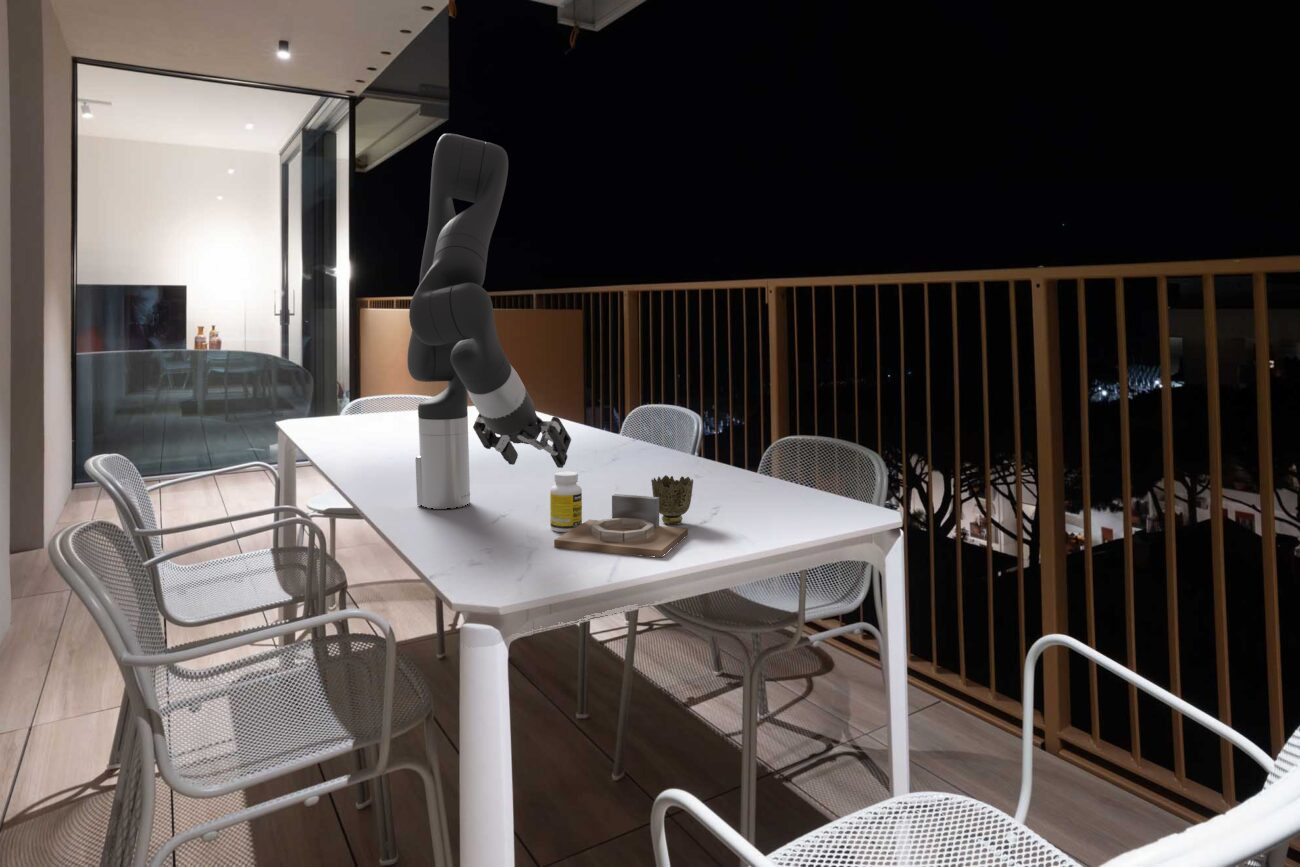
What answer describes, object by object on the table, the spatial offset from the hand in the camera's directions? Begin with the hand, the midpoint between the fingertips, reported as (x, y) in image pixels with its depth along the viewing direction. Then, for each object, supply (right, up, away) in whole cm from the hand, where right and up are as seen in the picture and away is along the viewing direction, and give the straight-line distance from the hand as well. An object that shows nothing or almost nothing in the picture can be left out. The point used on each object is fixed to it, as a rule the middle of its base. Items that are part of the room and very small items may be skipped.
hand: (537, 461), depth 130 cm
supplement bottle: (+3, -12, +11) cm, 17 cm away
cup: (+22, -12, +15) cm, 29 cm away
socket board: (+13, -13, +4) cm, 19 cm away
